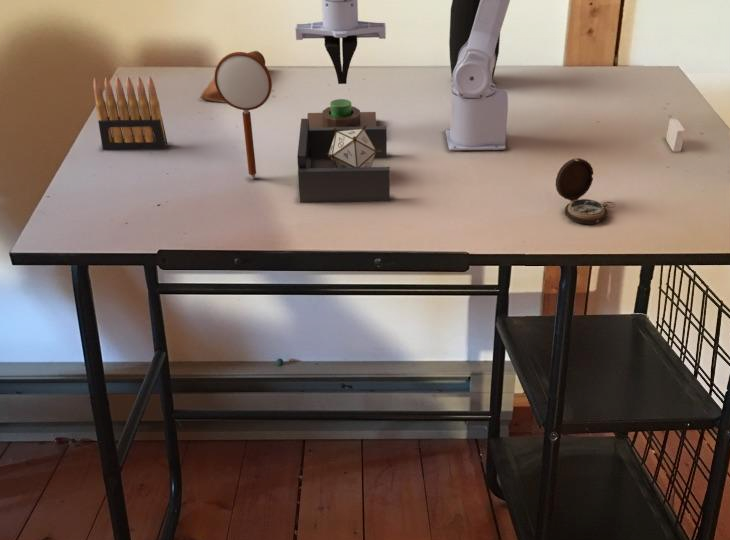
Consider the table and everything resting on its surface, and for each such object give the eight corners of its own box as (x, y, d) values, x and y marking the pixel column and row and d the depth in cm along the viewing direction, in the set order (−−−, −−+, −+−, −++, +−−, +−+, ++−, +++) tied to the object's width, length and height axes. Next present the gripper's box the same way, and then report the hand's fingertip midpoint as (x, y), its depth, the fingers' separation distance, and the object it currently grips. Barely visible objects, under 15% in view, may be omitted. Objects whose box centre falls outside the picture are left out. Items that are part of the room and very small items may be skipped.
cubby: (386, 154, 155) (386, 114, 151) (389, 200, 142) (389, 157, 138) (304, 156, 155) (301, 115, 151) (299, 202, 142) (296, 159, 138)
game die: (360, 202, 150) (367, 172, 140) (313, 178, 150) (316, 147, 140) (384, 158, 153) (392, 126, 143) (337, 135, 153) (343, 101, 143)
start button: (351, 110, 162) (351, 98, 161) (351, 118, 159) (351, 106, 158) (331, 110, 162) (330, 99, 161) (330, 118, 159) (330, 107, 158)
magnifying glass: (225, 180, 148) (209, 53, 136) (228, 175, 150) (212, 49, 137) (278, 183, 147) (267, 55, 135) (280, 178, 149) (270, 51, 136)
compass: (579, 229, 135) (586, 182, 131) (550, 205, 141) (556, 160, 136) (625, 218, 138) (633, 172, 133) (595, 195, 143) (602, 150, 139)
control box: (375, 120, 166) (375, 101, 164) (376, 141, 159) (376, 122, 157) (308, 122, 166) (307, 102, 164) (306, 143, 159) (305, 123, 157)
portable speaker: (502, 88, 178) (510, -20, 166) (456, 93, 176) (460, -16, 164) (487, 73, 184) (494, -33, 172) (442, 77, 182) (445, -29, 170)
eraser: (673, 151, 156) (677, 130, 153) (665, 139, 159) (669, 118, 157) (680, 151, 156) (685, 130, 153) (672, 139, 159) (677, 118, 157)
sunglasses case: (224, 64, 187) (238, 36, 183) (255, 84, 189) (269, 56, 185) (198, 98, 173) (211, 69, 169) (231, 119, 175) (246, 90, 171)
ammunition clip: (167, 144, 159) (156, 74, 151) (166, 149, 158) (154, 78, 150) (104, 145, 159) (90, 75, 151) (102, 150, 157) (87, 79, 150)
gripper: (292, 5, 145) (298, 91, 153) (386, 3, 145) (386, 89, 153) (294, -9, 150) (299, 75, 159) (384, -10, 150) (385, 74, 159)
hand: (342, 81), depth 156 cm, fingers closed
